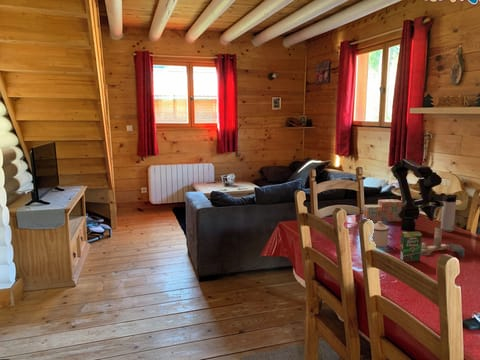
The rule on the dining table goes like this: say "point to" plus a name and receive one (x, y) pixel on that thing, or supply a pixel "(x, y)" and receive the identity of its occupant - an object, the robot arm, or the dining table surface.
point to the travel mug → (448, 213)
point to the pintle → (424, 248)
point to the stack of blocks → (383, 211)
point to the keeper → (457, 249)
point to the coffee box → (410, 246)
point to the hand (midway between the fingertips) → (431, 220)
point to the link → (435, 242)
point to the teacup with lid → (380, 234)
